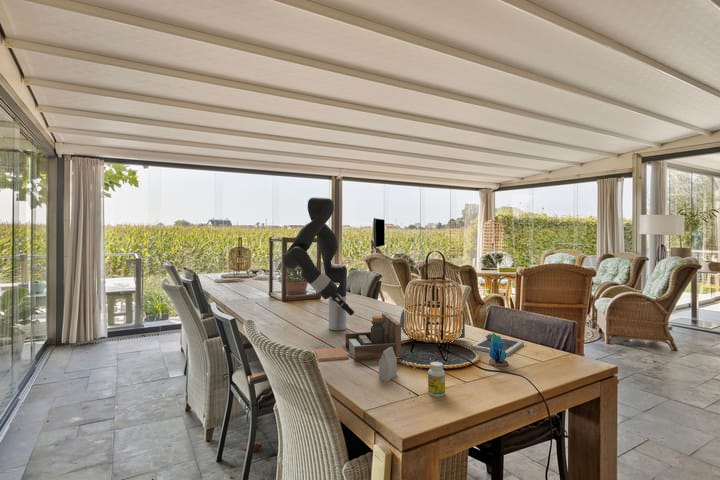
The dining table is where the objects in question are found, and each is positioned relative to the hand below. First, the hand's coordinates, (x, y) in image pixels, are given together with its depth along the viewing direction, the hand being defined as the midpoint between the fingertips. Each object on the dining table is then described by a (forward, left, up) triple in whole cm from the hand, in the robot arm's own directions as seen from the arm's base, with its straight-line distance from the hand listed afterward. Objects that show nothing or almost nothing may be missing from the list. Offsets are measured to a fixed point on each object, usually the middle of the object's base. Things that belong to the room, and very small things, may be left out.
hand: (350, 311), depth 166 cm
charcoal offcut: (0, +6, -18) cm, 19 cm away
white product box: (+28, +8, -18) cm, 34 cm away
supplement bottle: (+45, +19, -18) cm, 52 cm away
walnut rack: (0, +9, -18) cm, 20 cm away
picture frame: (+5, +66, -19) cm, 69 cm away
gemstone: (+25, +54, -18) cm, 62 cm away
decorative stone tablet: (-12, +42, -18) cm, 47 cm away
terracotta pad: (0, -8, -18) cm, 20 cm away
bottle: (0, +12, -18) cm, 21 cm away
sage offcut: (0, +2, -18) cm, 18 cm away
